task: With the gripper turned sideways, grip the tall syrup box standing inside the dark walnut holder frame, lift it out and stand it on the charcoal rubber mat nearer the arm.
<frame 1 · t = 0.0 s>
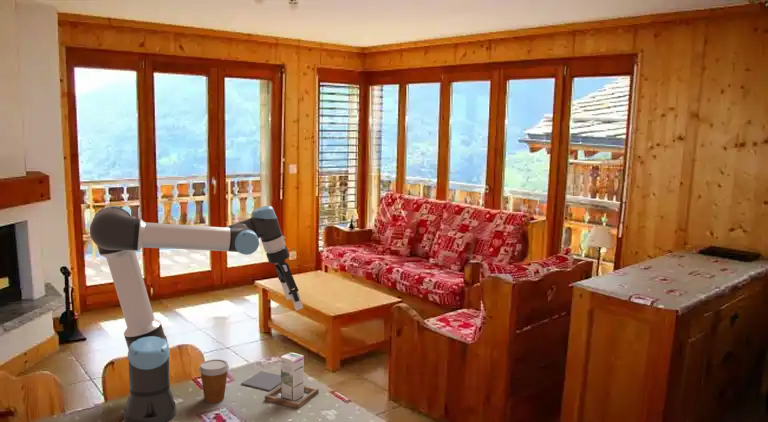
hand: (294, 303, 211), 28 cm above the table, tool tilted 20°, fingers open, 13 cm apart
disposable coffee cup: (214, 399, 197), on the table
walnut holder frame: (292, 396, 200), on the table
syrup box: (292, 397, 200), resting in walnut holder frame
rubber mat: (265, 381, 211), on the table
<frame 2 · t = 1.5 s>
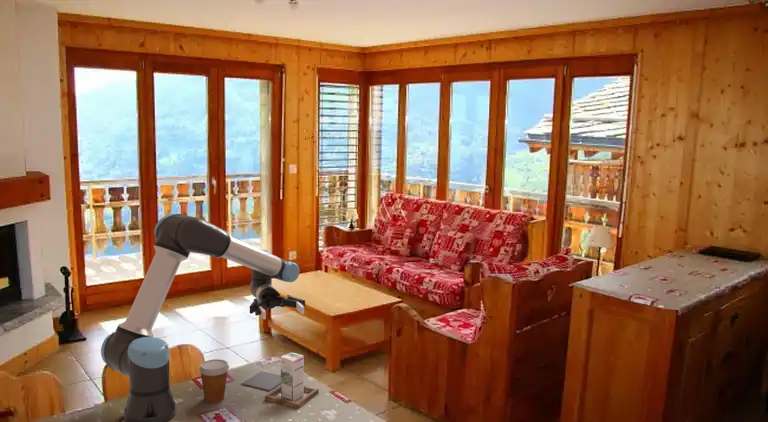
hand: (284, 313, 204), 26 cm above the table, tool horizontal, fingers open, 13 cm apart
nothing on the table moved.
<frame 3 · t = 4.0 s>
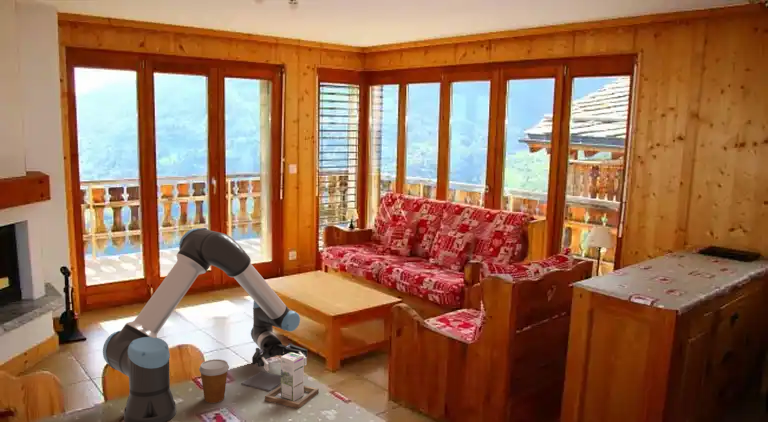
hand: (286, 364, 205), 8 cm above the table, tool horizontal, fingers open, 13 cm apart
nothing on the table moved.
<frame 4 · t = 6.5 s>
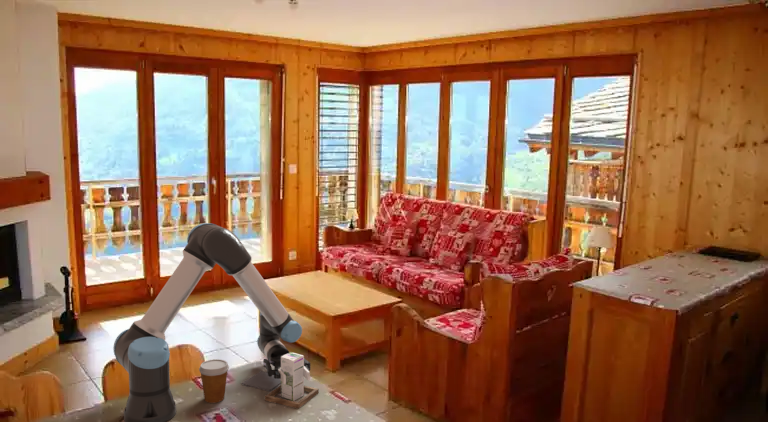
hand: (296, 378, 194), 9 cm above the table, tool horizontal, fingers closed on syrup box, 7 cm apart
syrup box: (292, 397, 200), resting in walnut holder frame, touching gripper
everything else where it was.
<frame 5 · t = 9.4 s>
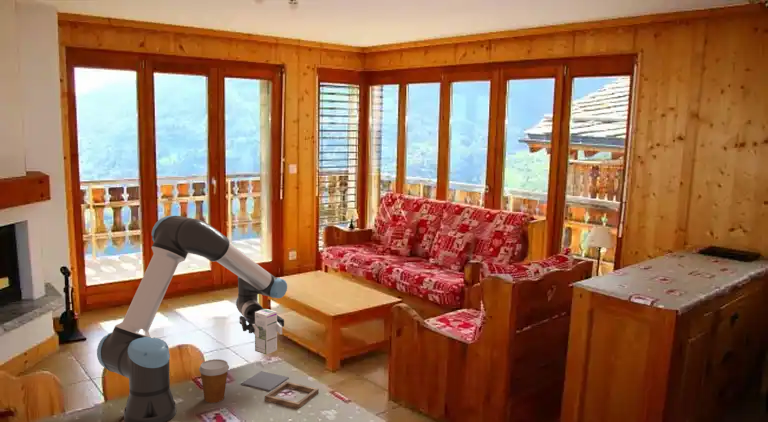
hand: (269, 332, 204), 20 cm above the table, tool horizontal, fingers closed on syrup box, 7 cm apart
syrup box: (265, 351, 209), point 11 cm above the table, touching gripper
everything else where it was.
when the fingers open (10 cm above the table, at t = 12.1 s): syrup box drops 1 cm, resting on rubber mat.
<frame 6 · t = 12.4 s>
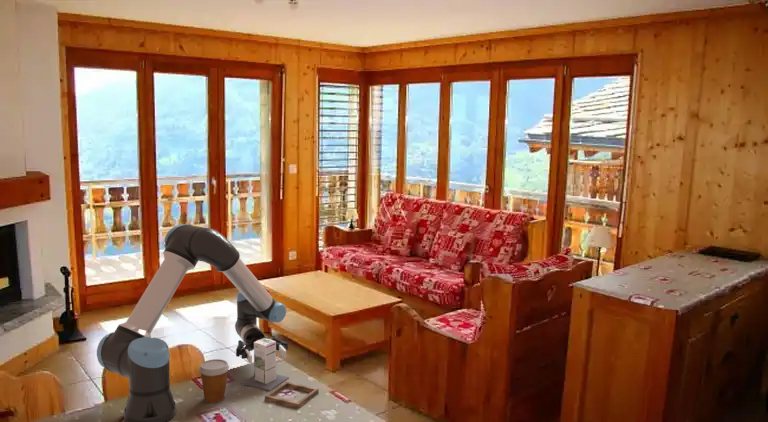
hand: (268, 357, 206), 10 cm above the table, tool horizontal, fingers open, 11 cm apart
syrup box: (265, 380, 211), resting on rubber mat
everything else where it was.
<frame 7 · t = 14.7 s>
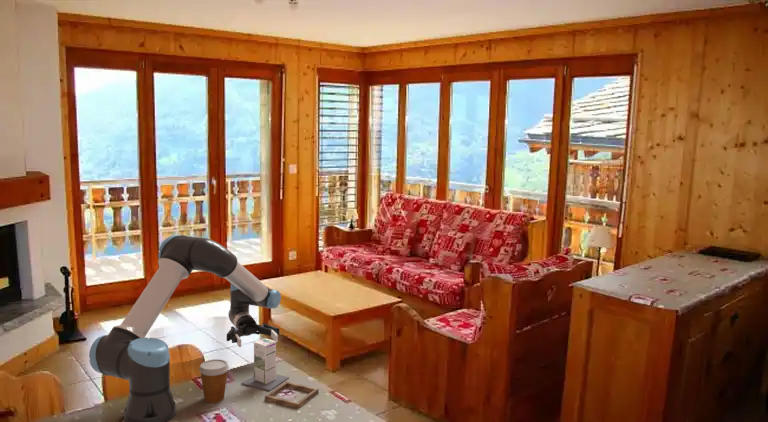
hand: (258, 341, 218), 12 cm above the table, tool horizontal, fingers open, 13 cm apart
nothing on the table moved.
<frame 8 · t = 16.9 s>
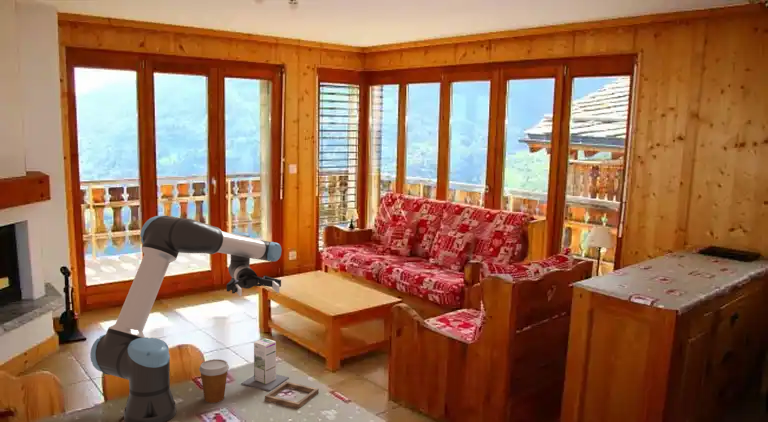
hand: (259, 290, 211), 32 cm above the table, tool horizontal, fingers open, 13 cm apart
nothing on the table moved.
at the end: syrup box inside the target area on the rubber mat (0.1 cm from its centre), point 0.3 cm above the rubber mat's base; syrup box tilted 0°; the gripper is holding nothing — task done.
